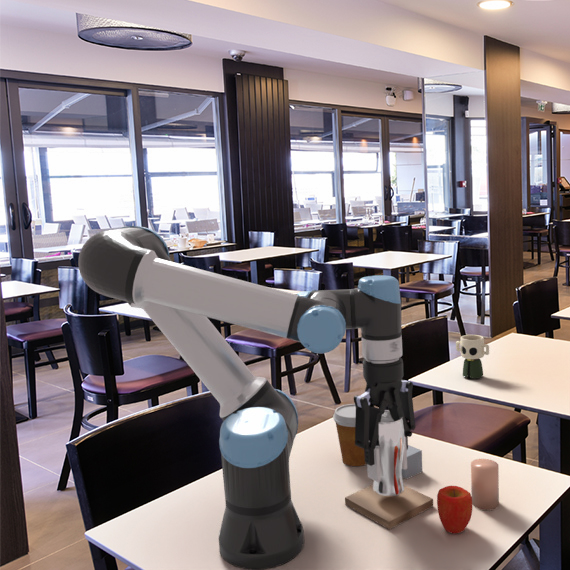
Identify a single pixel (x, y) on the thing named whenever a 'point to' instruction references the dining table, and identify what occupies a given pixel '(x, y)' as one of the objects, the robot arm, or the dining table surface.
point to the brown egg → (485, 484)
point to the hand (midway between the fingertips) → (387, 472)
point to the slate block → (413, 462)
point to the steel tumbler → (390, 456)
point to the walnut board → (389, 505)
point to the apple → (454, 508)
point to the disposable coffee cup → (348, 435)
